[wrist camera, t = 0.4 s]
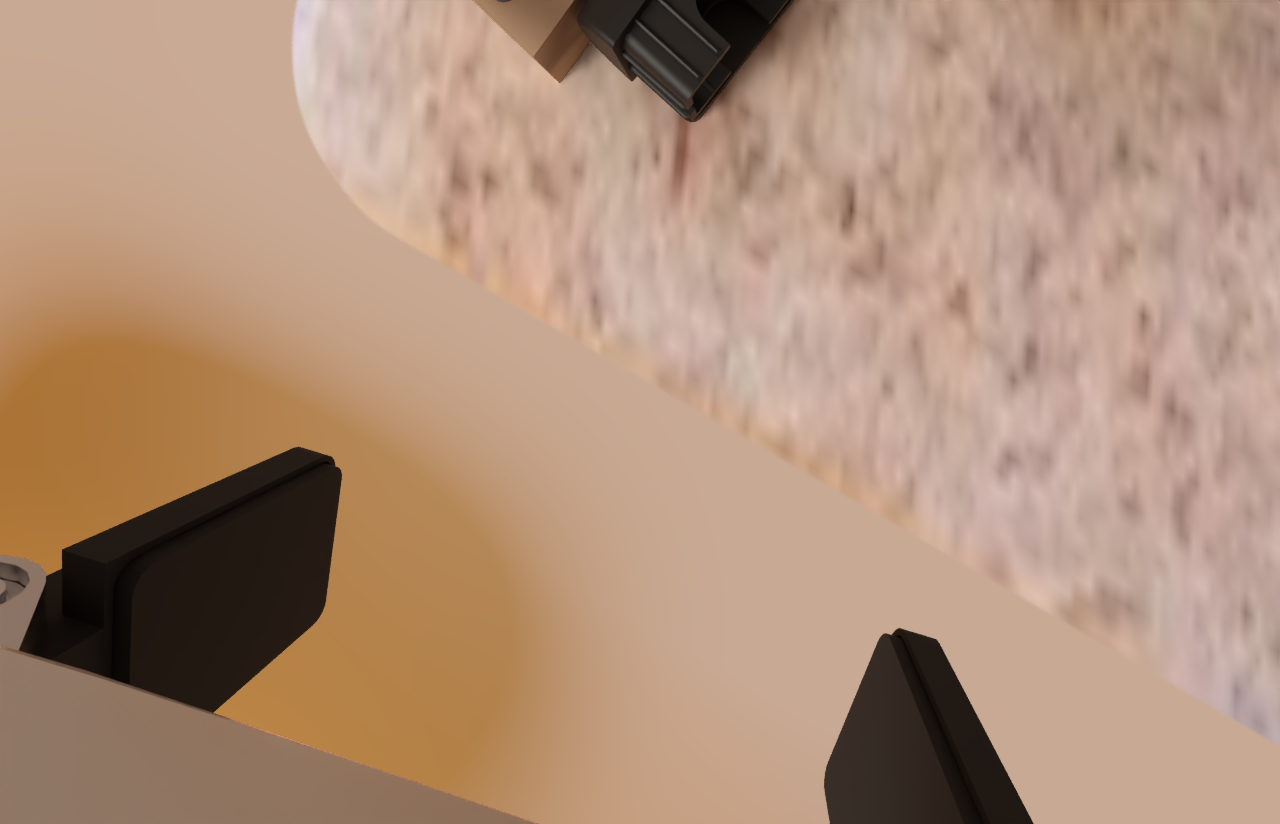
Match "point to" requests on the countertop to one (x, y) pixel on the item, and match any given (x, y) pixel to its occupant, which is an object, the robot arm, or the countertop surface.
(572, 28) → the marked block
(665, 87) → the black arched block
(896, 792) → the robot arm
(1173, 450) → the countertop surface
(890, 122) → the countertop surface
